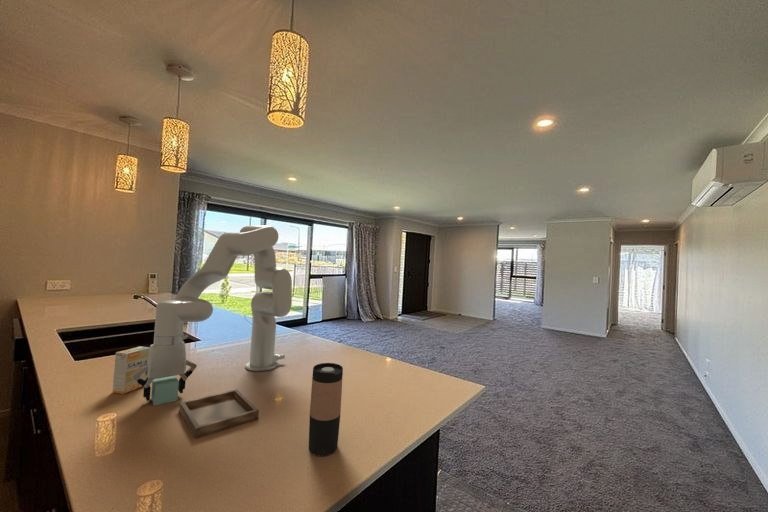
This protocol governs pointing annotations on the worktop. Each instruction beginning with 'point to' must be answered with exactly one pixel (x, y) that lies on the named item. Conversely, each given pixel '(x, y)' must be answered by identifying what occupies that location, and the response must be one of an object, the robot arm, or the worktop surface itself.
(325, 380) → the travel mug
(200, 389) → the worktop surface
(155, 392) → the teal cube
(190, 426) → the walnut tray
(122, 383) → the supplement box
